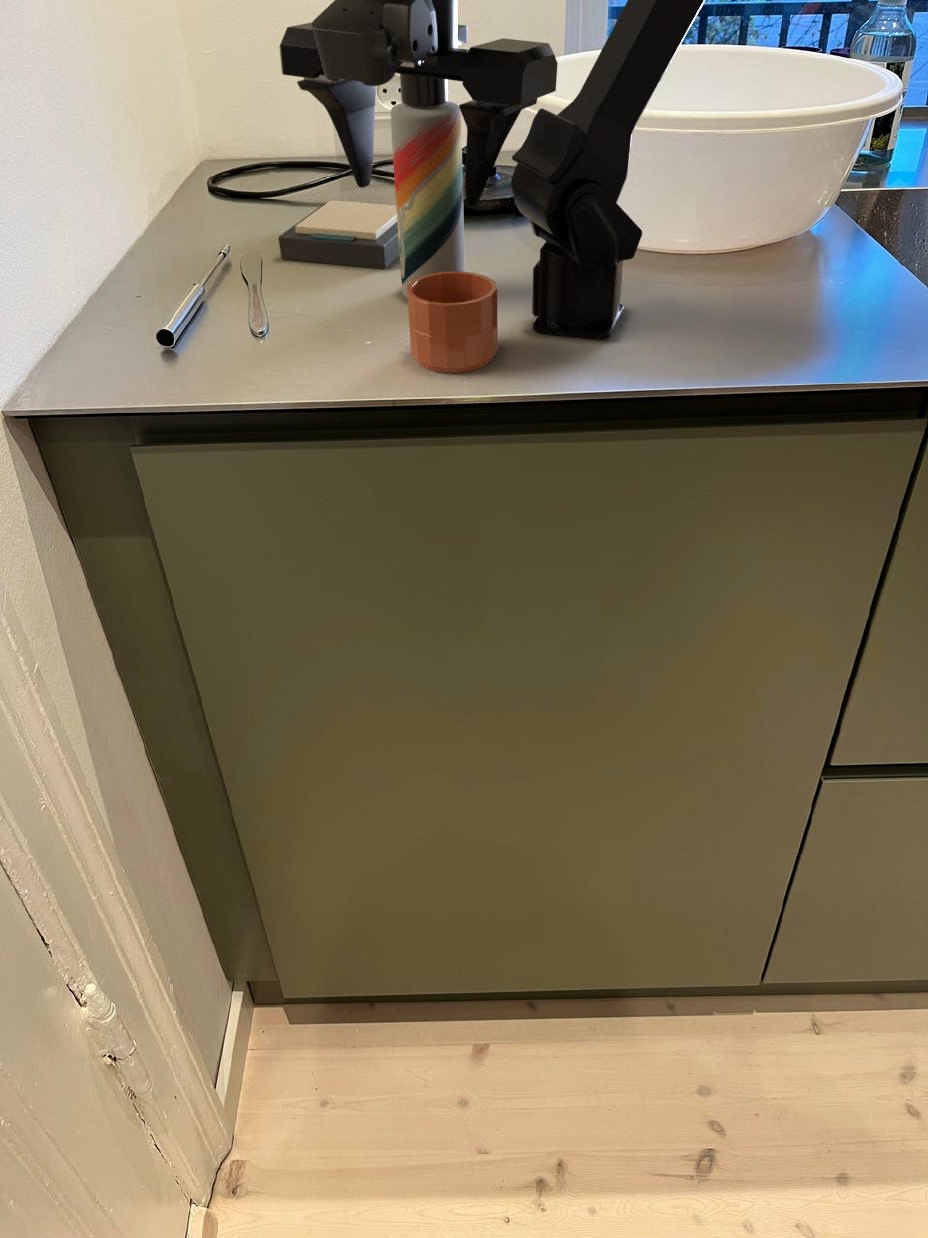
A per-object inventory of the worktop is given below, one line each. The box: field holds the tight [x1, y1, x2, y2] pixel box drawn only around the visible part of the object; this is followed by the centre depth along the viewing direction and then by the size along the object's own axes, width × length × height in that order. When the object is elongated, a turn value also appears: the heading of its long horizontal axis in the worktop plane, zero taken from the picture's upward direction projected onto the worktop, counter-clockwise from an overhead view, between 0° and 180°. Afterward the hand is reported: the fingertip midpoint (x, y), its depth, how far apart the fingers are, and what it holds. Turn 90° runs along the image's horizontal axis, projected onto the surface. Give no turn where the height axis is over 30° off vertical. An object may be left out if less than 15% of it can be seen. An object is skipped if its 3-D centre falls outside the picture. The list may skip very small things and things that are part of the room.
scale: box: [278, 199, 400, 270], centre depth 97 cm, size 11×11×3 cm
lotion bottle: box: [390, 61, 466, 300], centre depth 81 cm, size 6×6×20 cm
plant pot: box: [407, 271, 499, 374], centre depth 75 cm, size 7×7×6 cm
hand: (416, 195), depth 70 cm, fingers open, 9 cm apart
